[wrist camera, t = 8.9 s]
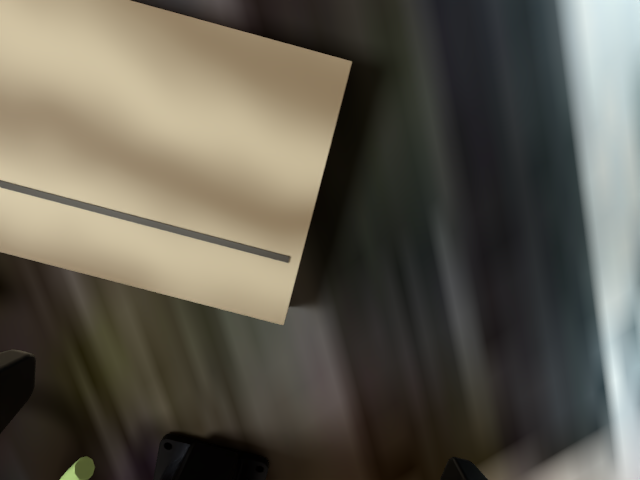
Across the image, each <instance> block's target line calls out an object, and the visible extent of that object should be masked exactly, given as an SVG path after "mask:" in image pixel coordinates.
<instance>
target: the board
mask: <svg viewBox="0 0 640 480" xmlns="http://www.w3.org/2000/svg"><path fill="white" fill-rule="evenodd" d="M351 65H352V61H349V60H345V59H341V58H338V57H334V56H330V55H327V54H323V53H320V52H316V51H312V50H309V49H305V48H301V47H298V46H294V45H290V44H287V43H283V42H280V41H276V40H272V39H269V38H265V37H261V36H258V35H254V34H251V33H247V32H243V31H240V30H236V29H232V28H229V27H225V26H221V25H218V24H214V23H211V22H207V21H203V20H200V19H196V18H192V17H189V16H185V15H181V14H178V13H174V12H171V11H167V10H163V9H160V8H156V7H152V6H149V5H145V4H142V3H138V2H134V1H131V0H0V252H3V253H7V254H10V255H14V256H18V257H22V258H26V259H30V260H34V261H37V262H41V263H45V264H49V265H53V266H57V267H61V268H64V269H68V270H72V271H76V272H80V273H84V274H88V275H91V276H95V277H99V278H103V279H107V280H111V281H115V282H118V283H122V284H126V285H130V286H134V287H138V288H142V289H145V290H149V291H153V292H157V293H161V294H165V295H169V296H172V297H176V298H180V299H184V300H188V301H192V302H196V303H199V304H203V305H207V306H211V307H215V308H219V309H223V310H226V311H230V312H234V313H238V314H242V315H246V316H250V317H253V318H257V319H261V320H265V321H269V322H273V323H277V324H280V325H284V321H285V318H286V315H287V311H288V308H289V304H290V300H291V296H292V293H293V289H294V285H295V281H296V277H297V273H298V270H299V266H300V262H301V258H302V254H303V250H304V247H305V243H306V239H307V235H308V231H309V227H310V224H311V220H312V216H313V212H314V208H315V204H316V200H317V197H318V193H319V189H320V185H321V181H322V177H323V174H324V170H325V166H326V162H327V158H328V154H329V151H330V147H331V143H332V139H333V135H334V131H335V128H336V124H337V120H338V116H339V112H340V108H341V105H342V101H343V97H344V93H345V89H346V85H347V82H348V78H349V74H350V70H351Z"/></svg>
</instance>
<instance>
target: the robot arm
mask: <svg viewBox="0 0 640 480" xmlns="http://www.w3.org/2000/svg"><path fill="white" fill-rule="evenodd" d="M35 365H36V358H35V356H34V355H33V354H31V353H28V352H24V351H20V350H9V351H5V352H2V353H0V433H1V432H2V431H3V430H4V429H5V427H6V426H7V425H8V424H9V422H10V421H11V420H12V419H13V418H14V416H15V415H16V414H17V413H18V411H19V410H20V409H21V408H22V407H23V405H24V404H25V403H26V402H27V401H28V399H29V398H30V396H31V394H32V392H33V389H34V383H35ZM169 443H170V444H169ZM259 466H262V467H259ZM268 468H269V462H268V460H267V459H266V458H264V457H261V456H257V455H253V454H249V453H245V452H241V451H237V450H233V449H229V448H225V447H221V446H217V445H213V444H209V443H205V442H201V441H197V440H193V439H189V438H185V437H181V436H177V435H173V434H167V435H165V436H164V437H163V439H162V440H161V442H160V445H159V451H158V457H157V462H156V468H155V473H154V479H153V480H266V476H267V472H268ZM440 480H488V479H487V478H486V477H485V476H484V475H483V474H482V473H481V472H480V471H479V470H478V468H477V467H476V466H475V465H474V464H473V463H472V462H470V461H468V460H464V459H460V458H456V457H452V458H450V459H449V461H448V462H447V465H446V467H445V469H444V472H443V474H442V476H441V479H440Z"/></svg>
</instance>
